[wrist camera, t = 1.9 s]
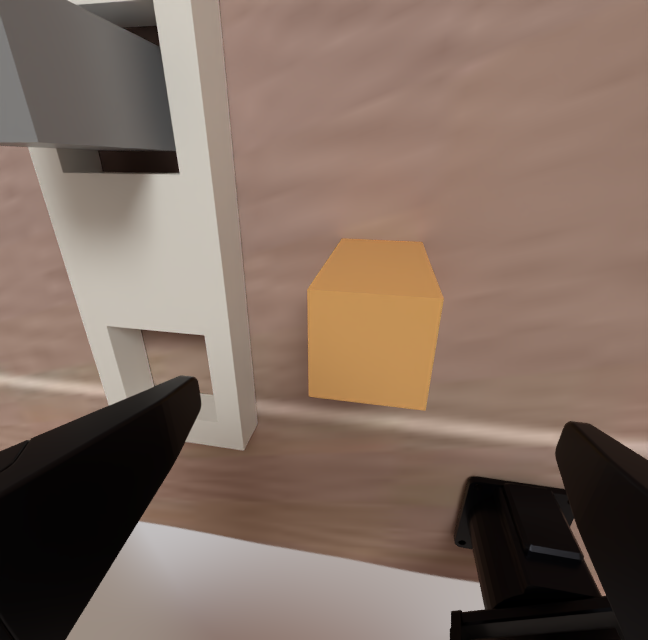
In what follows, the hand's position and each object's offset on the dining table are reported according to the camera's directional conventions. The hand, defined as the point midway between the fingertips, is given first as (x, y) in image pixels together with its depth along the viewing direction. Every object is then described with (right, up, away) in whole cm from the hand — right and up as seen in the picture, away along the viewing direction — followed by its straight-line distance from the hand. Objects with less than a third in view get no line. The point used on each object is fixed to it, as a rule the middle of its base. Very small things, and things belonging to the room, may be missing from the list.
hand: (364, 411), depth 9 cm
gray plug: (-10, +13, +8) cm, 18 cm away
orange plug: (+2, +4, +10) cm, 11 cm away
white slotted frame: (-10, +6, +11) cm, 16 cm away
